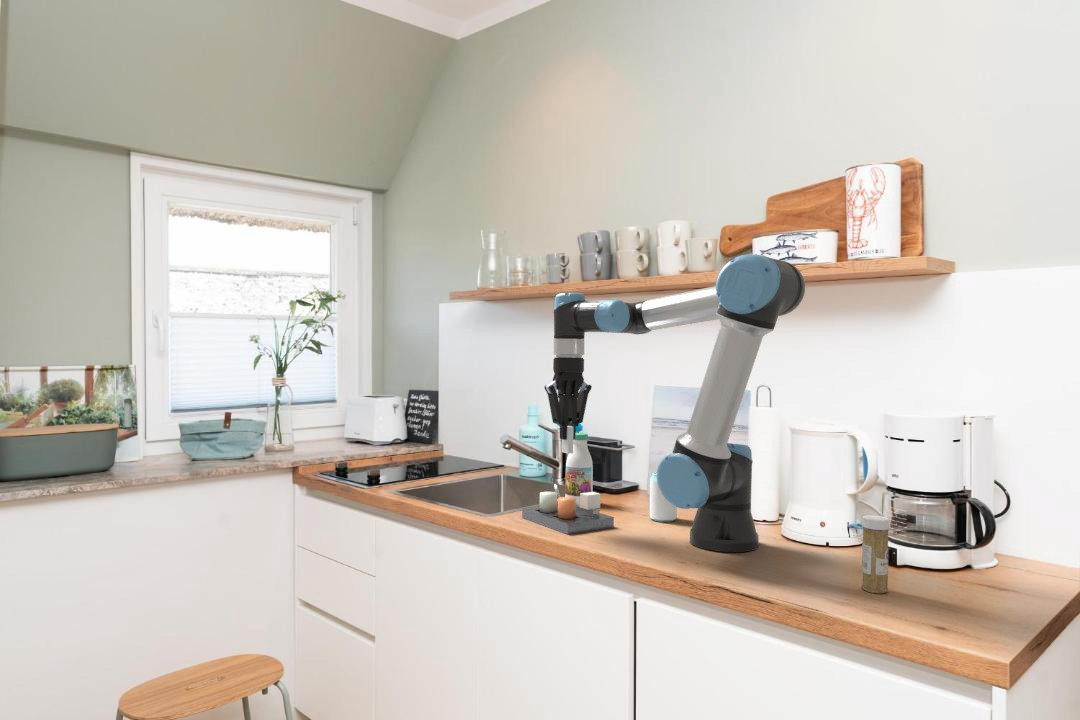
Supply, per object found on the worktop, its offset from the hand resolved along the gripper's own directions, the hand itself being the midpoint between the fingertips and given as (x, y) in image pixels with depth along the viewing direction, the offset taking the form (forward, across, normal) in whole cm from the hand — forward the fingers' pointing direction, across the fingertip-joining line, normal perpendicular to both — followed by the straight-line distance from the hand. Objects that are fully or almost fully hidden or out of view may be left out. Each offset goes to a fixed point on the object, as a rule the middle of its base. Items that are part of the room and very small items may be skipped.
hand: (567, 452), depth 178 cm
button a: (+16, 0, 0) cm, 16 cm away
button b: (+16, 0, -8) cm, 18 cm away
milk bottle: (+19, -20, -21) cm, 34 cm away
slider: (+14, -7, +1) cm, 15 cm away
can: (+19, -26, +6) cm, 33 cm away
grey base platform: (+18, -3, -4) cm, 19 cm away
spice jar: (+18, -20, +68) cm, 73 cm away
